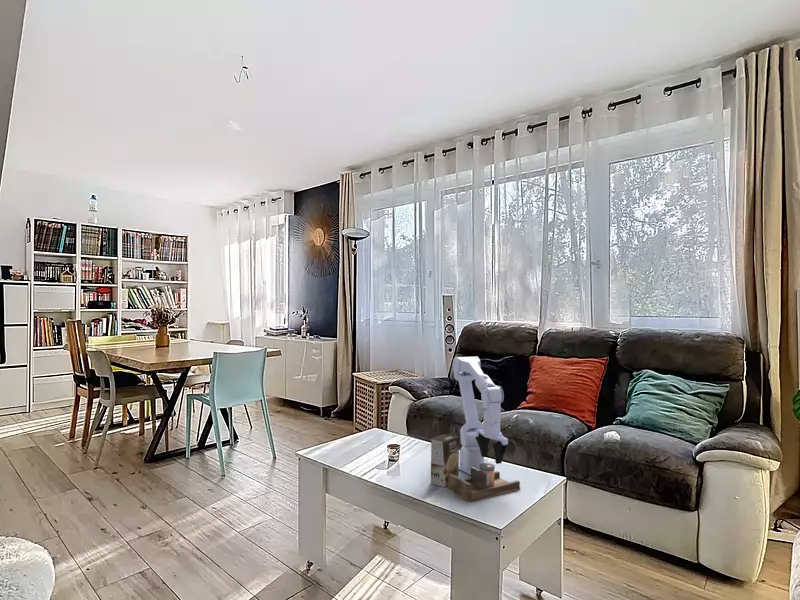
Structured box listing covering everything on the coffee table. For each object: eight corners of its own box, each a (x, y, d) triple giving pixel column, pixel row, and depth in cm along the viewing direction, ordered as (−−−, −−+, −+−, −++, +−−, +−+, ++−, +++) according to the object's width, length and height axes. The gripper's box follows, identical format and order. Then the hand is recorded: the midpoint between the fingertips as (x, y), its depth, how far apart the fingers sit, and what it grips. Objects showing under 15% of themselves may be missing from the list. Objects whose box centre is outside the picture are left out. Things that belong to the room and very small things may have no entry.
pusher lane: (447, 489, 169) (447, 473, 169) (496, 477, 180) (497, 462, 180) (469, 502, 159) (469, 485, 159) (520, 489, 170) (520, 473, 170)
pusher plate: (470, 484, 172) (470, 467, 172) (473, 483, 172) (473, 466, 172) (486, 492, 165) (486, 475, 165) (489, 492, 165) (489, 474, 165)
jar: (476, 486, 171) (476, 464, 171) (487, 483, 174) (487, 462, 174) (486, 491, 167) (486, 469, 166) (497, 488, 169) (497, 466, 169)
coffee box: (444, 488, 170) (445, 442, 170) (430, 483, 174) (430, 438, 174) (459, 480, 177) (459, 436, 177) (444, 476, 181) (445, 432, 181)
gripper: (515, 424, 168) (514, 464, 168) (487, 415, 180) (486, 452, 180) (499, 427, 164) (498, 467, 164) (472, 417, 177) (471, 455, 177)
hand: (491, 459), depth 172 cm, fingers open, 7 cm apart
